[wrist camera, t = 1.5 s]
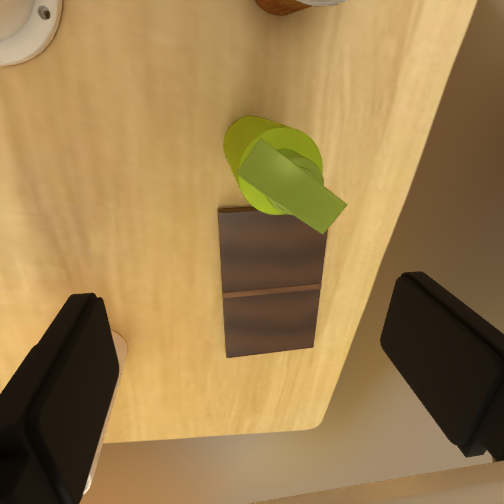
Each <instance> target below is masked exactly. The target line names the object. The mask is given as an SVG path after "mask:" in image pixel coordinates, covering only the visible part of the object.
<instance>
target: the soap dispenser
mask: <svg viewBox="0 0 504 504" xmlns="http://www.w3.org/2000/svg"><path fill="white" fill-rule="evenodd" d="M224 153H225V156H226V159H227V161H228V163H229V165H230V167H231V170H232V172H233V174H234V176H235V178H236V181H237V183H238V185H239V187H240V189H241V192H242V194H243V195H244V197H245V199H246V200H247V201H248V202H249V203H250V204H251V205H252V206H253V207H254V208H256V209H257V210H259V211H261V212H264V213H267V214H272V215H283V214H287V215H294V216H296V217H297V218H299V219H300V220H302V221H303V222H305V223H306V224H308V225H309V226H311V227H312V228H314V229H315V230H317V231H318V232H320V233H321V234H324V232H325V231H326V230H327V229H328V228H329V226H330V225H331V224H332V223H333V222H334V220H335V219H336V218H337V217H338V216H339V214H340V213H341V212H342V211H343V210H344V208H345V207H346V206H347V204H346V203H345V202H343V201H342V200H341V199H340V198H338V197H337V196H336V195H334V194H333V193H332V192H331V191H329V190H328V189H327V188H325V187H324V181H323V175H322V171H323V164H322V158H321V154H320V151H319V149H318V147H317V145H316V144H315V143H314V141H313V140H312V139H311V138H310V137H309V136H308V135H306V134H305V133H303V132H301V131H299V130H297V129H294V128H291V127H288V126H285V125H282V124H279V123H276V122H273V121H270V120H266V119H263V118H260V117H257V116H247V117H243V118H241V119H239V120H237V121H236V122H234V123H233V124H232V125H231V126H230V128H229V129H228V131H227V133H226V135H225V139H224Z"/></svg>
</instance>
